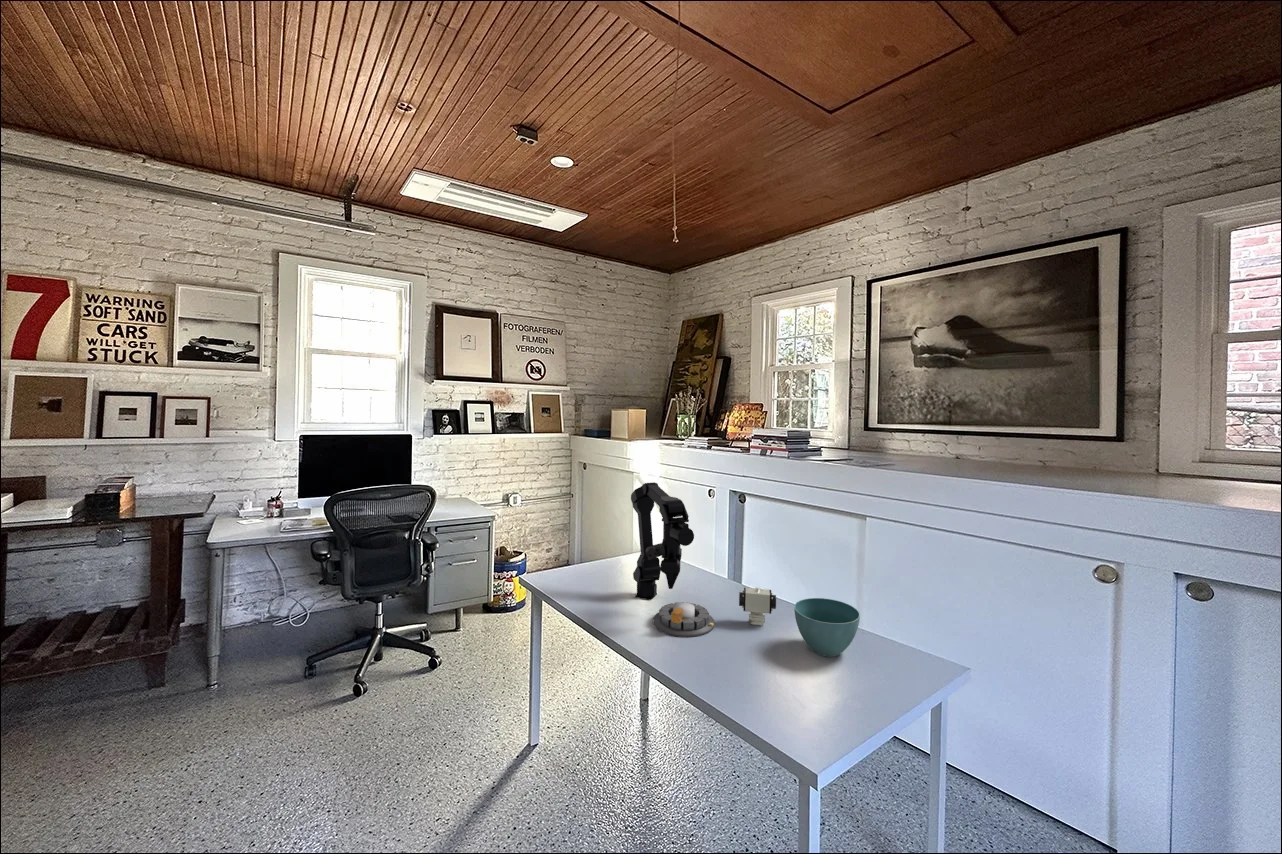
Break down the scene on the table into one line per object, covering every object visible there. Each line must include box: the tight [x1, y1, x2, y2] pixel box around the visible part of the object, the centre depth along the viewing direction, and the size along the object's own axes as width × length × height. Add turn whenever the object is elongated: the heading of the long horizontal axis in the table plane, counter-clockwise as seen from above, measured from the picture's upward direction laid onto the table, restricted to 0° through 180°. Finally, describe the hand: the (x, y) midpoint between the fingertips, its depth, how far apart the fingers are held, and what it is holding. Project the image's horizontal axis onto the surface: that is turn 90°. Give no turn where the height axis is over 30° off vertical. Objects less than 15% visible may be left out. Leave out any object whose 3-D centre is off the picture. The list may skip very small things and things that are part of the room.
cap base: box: [652, 602, 715, 638], centre depth 173 cm, size 20×20×6 cm
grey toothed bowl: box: [658, 601, 710, 631], centre depth 173 cm, size 16×17×5 cm
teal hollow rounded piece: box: [793, 597, 861, 658], centre depth 156 cm, size 18×18×12 cm
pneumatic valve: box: [738, 587, 777, 627], centre depth 174 cm, size 6×12×12 cm, turn 78°
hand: (671, 583), depth 176 cm, fingers open, 9 cm apart
